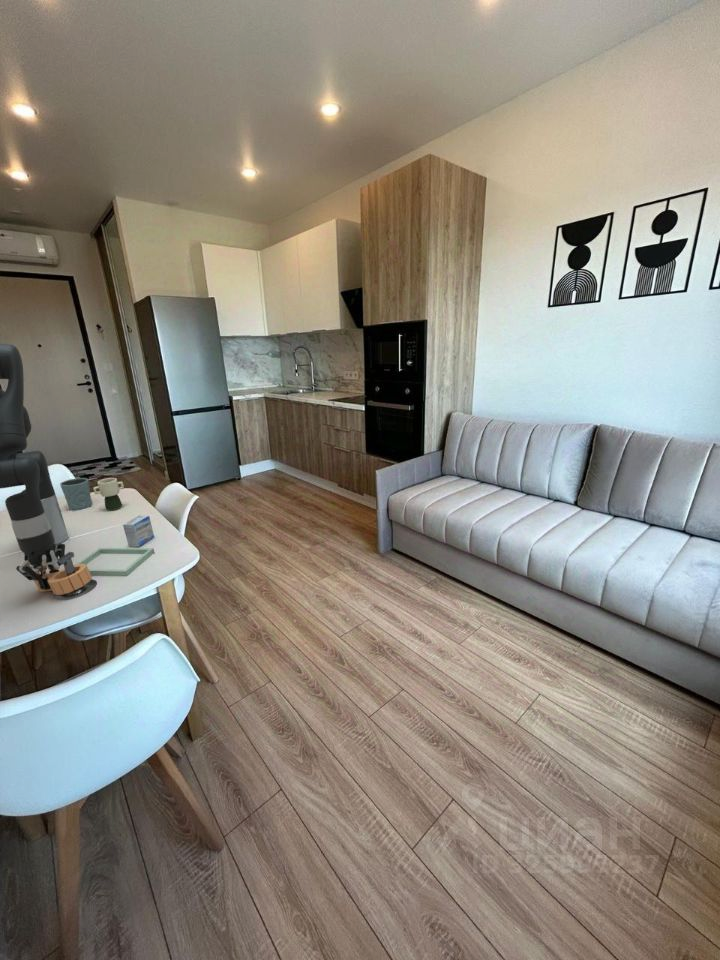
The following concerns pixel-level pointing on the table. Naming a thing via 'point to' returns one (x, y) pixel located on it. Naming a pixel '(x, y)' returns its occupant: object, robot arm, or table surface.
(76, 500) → the teal pot
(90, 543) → the table surface
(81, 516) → the table surface
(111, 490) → the character mug
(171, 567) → the table surface
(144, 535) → the medicine box
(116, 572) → the green rhombus frame
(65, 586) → the ring
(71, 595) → the metal post stand
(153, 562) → the table surface
